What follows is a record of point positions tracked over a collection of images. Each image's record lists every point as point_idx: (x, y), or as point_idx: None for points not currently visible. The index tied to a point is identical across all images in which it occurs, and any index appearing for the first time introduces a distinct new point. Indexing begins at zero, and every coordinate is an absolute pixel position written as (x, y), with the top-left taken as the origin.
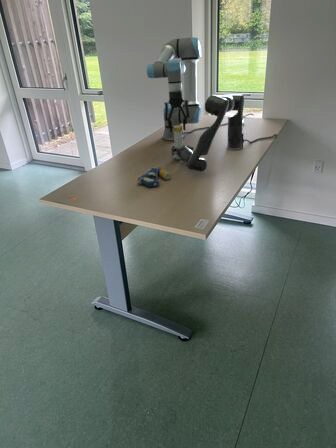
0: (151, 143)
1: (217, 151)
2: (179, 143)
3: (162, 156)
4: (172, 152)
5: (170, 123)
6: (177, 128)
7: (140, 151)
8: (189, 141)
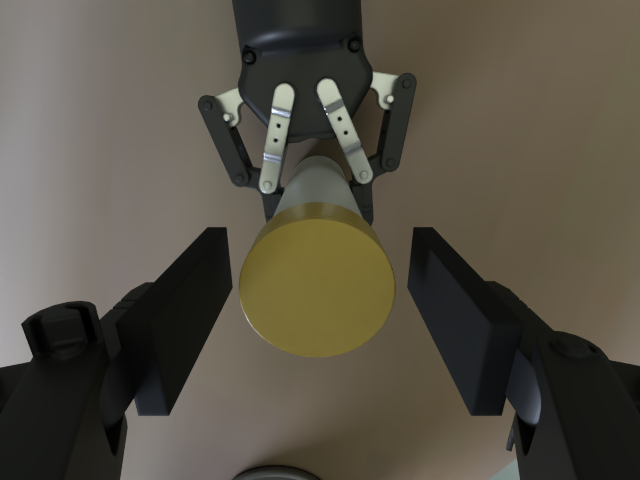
0: (412, 472)
1: (38, 204)
2: (318, 174)
3: None
4: (411, 77)
5: (494, 291)
6: (338, 217)
7: None
8: (200, 430)
